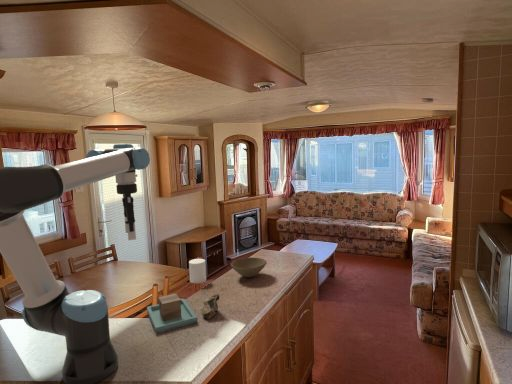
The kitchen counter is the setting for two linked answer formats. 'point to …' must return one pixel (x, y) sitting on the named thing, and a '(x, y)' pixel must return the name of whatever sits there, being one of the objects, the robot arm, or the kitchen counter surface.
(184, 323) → the tray
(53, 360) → the kitchen counter surface
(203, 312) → the rock
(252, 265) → the bowl
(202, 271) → the mug
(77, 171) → the robot arm
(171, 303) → the walnut cube
